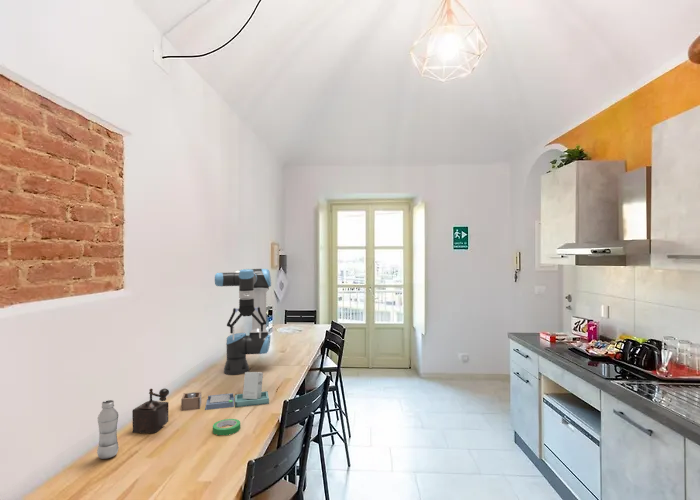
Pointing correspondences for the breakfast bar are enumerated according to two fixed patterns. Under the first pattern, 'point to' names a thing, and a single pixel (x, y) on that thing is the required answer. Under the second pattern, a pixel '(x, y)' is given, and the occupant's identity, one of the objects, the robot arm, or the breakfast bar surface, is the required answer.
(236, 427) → the tape roll
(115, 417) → the plastic bottle
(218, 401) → the checker plate
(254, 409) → the breakfast bar surface
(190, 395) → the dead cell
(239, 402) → the teal shallow tray
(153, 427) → the manual coffee grinder
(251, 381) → the supplement box
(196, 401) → the brown open box
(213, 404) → the base
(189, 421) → the breakfast bar surface
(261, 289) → the robot arm
